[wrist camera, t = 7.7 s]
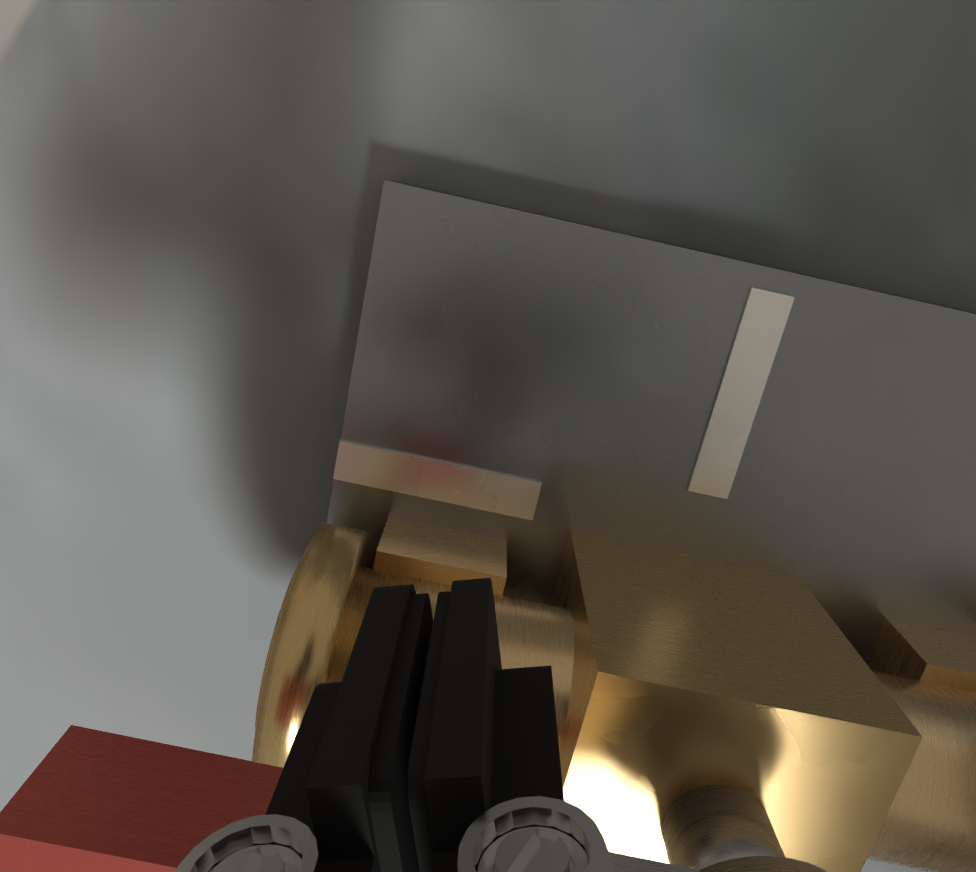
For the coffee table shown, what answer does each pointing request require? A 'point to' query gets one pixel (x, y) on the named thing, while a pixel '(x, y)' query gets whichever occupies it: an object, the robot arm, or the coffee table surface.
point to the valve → (669, 528)
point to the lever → (171, 809)
